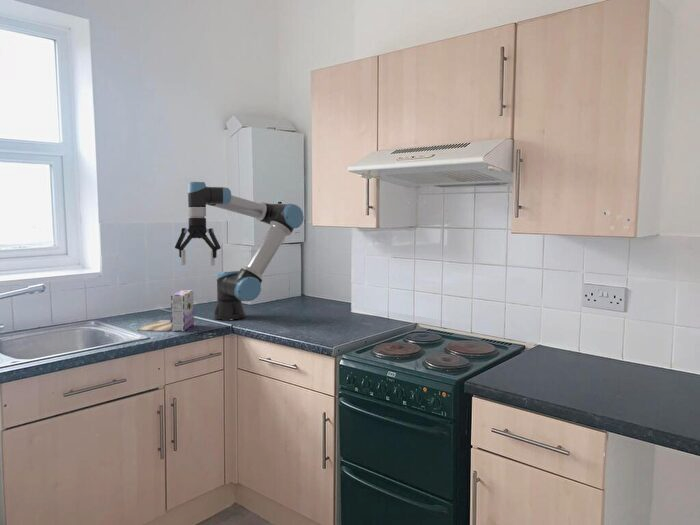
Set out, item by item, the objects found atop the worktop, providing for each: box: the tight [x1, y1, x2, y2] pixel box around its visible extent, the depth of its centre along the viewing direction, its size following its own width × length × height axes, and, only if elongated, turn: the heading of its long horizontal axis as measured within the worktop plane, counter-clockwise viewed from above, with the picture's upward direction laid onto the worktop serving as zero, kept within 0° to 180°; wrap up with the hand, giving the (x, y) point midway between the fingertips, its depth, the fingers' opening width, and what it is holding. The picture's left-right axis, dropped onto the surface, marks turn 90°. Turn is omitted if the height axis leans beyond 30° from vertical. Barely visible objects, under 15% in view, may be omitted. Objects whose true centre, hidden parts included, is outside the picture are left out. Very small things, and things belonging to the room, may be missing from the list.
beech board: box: [136, 321, 172, 333], centre depth 252 cm, size 14×16×1 cm
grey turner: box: [157, 319, 172, 323], centre depth 264 cm, size 16×4×1 cm, turn 84°
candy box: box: [170, 289, 195, 332], centre depth 250 cm, size 14×6×16 cm, turn 178°
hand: (198, 265), depth 248 cm, fingers open, 13 cm apart
